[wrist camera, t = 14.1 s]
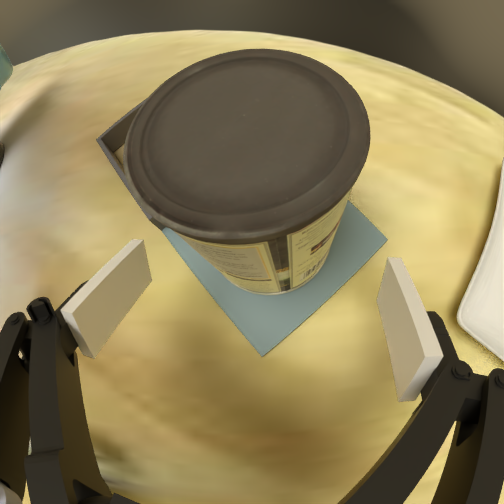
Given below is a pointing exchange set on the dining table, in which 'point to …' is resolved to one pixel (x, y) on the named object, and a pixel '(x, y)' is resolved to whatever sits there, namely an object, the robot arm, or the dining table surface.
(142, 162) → the coffee can
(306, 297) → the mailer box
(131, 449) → the dining table surface
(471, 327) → the salad plate
